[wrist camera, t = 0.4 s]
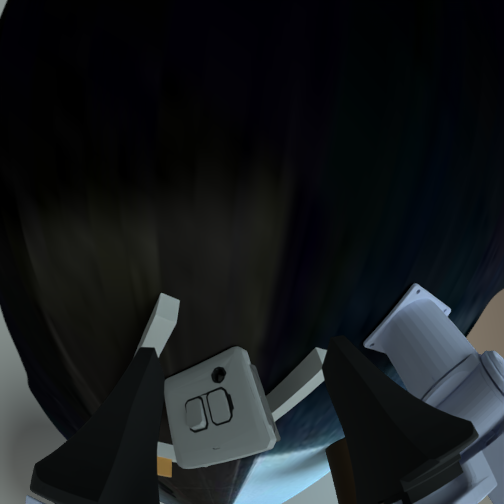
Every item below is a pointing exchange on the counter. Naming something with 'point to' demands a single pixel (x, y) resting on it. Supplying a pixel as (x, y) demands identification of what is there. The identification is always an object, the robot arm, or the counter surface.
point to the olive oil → (342, 472)
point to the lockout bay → (278, 398)
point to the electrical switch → (218, 411)
